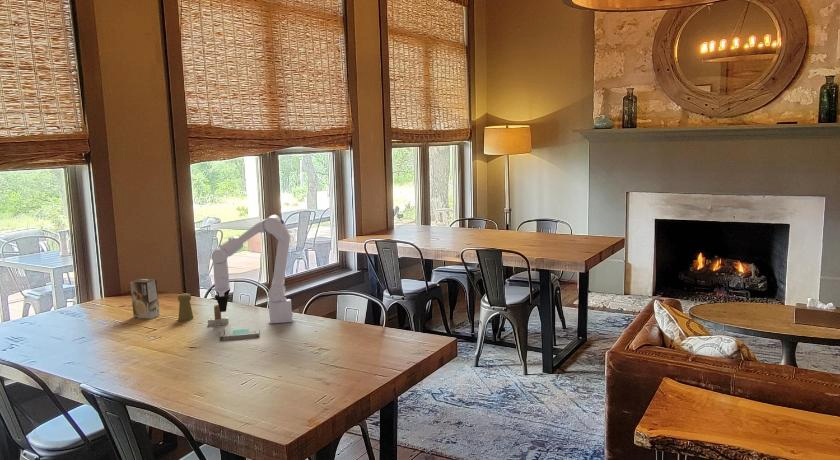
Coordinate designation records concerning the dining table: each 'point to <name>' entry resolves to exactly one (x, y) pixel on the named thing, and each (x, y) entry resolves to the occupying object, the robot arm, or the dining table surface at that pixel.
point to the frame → (238, 335)
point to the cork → (185, 307)
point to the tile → (240, 331)
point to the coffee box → (145, 298)
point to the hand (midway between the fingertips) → (223, 309)
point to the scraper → (217, 318)
